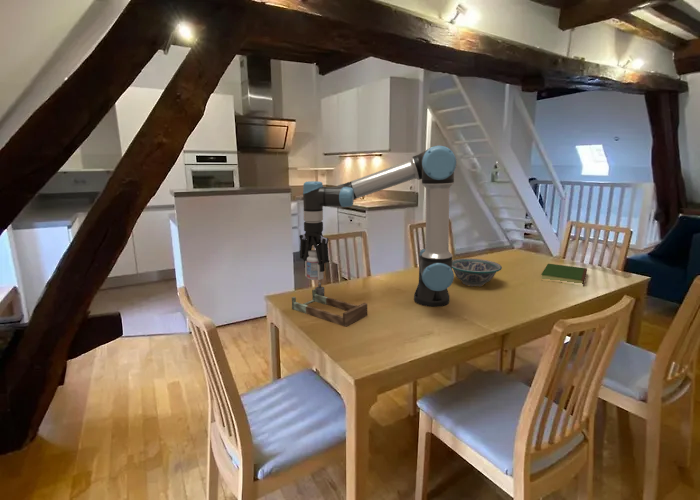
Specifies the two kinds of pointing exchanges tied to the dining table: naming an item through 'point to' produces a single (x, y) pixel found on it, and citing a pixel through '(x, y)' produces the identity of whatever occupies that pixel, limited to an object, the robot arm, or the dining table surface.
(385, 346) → the dining table surface
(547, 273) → the hardcover book
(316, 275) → the pill bottle
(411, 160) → the robot arm
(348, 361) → the dining table surface
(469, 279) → the bowl
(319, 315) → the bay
